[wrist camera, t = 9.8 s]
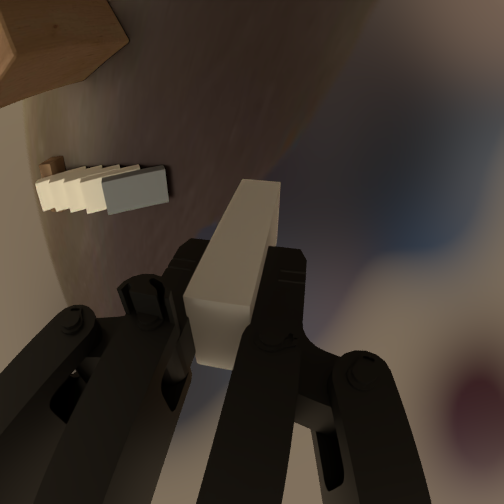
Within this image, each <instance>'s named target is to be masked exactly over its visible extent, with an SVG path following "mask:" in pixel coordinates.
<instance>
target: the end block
mask: <svg viewBox="0 0 504 504" xmlns="http://www.w3.org/2000/svg"><path fill="white" fill-rule="evenodd" d="M39 168H40V172H41V176H42V178H45V177H48V176H51V175H55V174H58V173H61V172H65V171H66V168H65V164H64V159H63V156H57V157H51V158H49V159H48V160H46V161H44V162H43V163H41V164H40V165H39ZM51 211H54V212H56V209H55V208H52V209H51ZM63 211H64V210H61V211H58V212H63Z"/></svg>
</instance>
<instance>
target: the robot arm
mask: <svg viewBox="0 0 504 504" xmlns="http://www.w3.org/2000/svg"><path fill="white" fill-rule="evenodd" d="M279 199H280V182H273V181H262V180H250V179H242V181H241V183H240V184H239V186H238V188H237V190H236V192H235V194H234V196H233V198H232V199H231V201H230V203H229V205H228V207H227V209H226V211H225V213H224V215H223V217H222V219H221V221H220V223H219V224H218V226H217V228H216V231H215V232H214V234H213V236H212V238H211V240H202V239H193V238H191V239H189V240H188V241H187V242H185V243H184V244H183V245H181V246H180V247H179V249H178V250H177V252H176V253H175V255H174V257H173V259H172V260H171V262H170V263H169V265H168V268H166V270H165V272H164V273H163V275H162V277H161V276H158V275H155V274H141V275H137V276H133V277H131V278H129V279H128V280H126V281H124V282H123V283H122V284H121V285H120V286H119V287H118V288H117V291H118V293H119V296H120V299H121V302H122V304H123V307H124V310H125V312H126V314H125V316H120V317H108V318H96V316H95V314H94V312H93V311H92V310H91V309H90V308H89V307H87V306H84V305H73V306H70V307H67V308H65V309H64V310H62V311H61V312H60V313H58V314H57V315H56V316H55V317H54V318H53V319H52V320H51V321H50V322H49V323H48V324H47V325H46V326H45V327H44V328H43V329H42V330H41V331H40V332H39V333H38V334H37V335H36V336H35V337H34V338H33V339H32V340H31V341H30V342H29V343H28V344H27V345H26V346H25V348H23V350H22V351H21V352H20V353H19V354H18V355H17V356H16V357H15V358H14V359H13V360H12V361H11V363H9V365H8V366H7V367H6V368H5V369H4V370H3V371H2V372H1V373H0V504H151V501H152V497H153V494H154V491H155V488H156V485H157V482H158V479H159V476H160V473H161V469H162V467H163V464H164V461H165V458H166V455H167V452H168V449H169V445H170V442H171V439H172V436H173V433H174V431H175V427H176V425H177V422H178V419H179V415H180V413H181V410H182V407H183V404H184V401H185V398H186V395H187V392H188V389H189V386H190V383H191V379H192V372H191V368H190V366H191V363H192V361H193V358H194V355H195V356H196V360H197V363H198V364H202V365H207V366H212V367H217V368H223V369H228V370H232V374H231V378H230V381H229V386H228V389H227V393H226V396H225V400H224V404H223V408H222V411H221V415H220V419H219V422H218V426H217V430H216V433H215V437H214V441H213V445H212V449H211V452H210V455H209V459H208V463H207V466H206V470H205V473H204V477H203V481H202V484H201V488H200V491H199V495H198V498H197V502H196V504H281V503H282V498H283V492H284V486H285V480H286V474H287V467H288V461H289V454H290V447H291V440H292V433H293V425H294V422H295V423H298V424H300V425H302V426H305V427H307V428H310V429H311V433H312V440H313V445H314V451H315V457H316V463H317V469H318V475H319V482H320V488H321V495H322V501H323V504H431V499H430V495H429V491H428V487H427V483H426V479H425V476H424V472H423V468H422V465H421V461H420V458H419V455H418V451H417V448H416V444H415V441H414V438H413V434H412V431H411V428H410V425H409V422H408V419H407V416H406V413H405V410H404V407H403V404H402V401H401V398H400V395H399V392H398V390H397V387H396V384H395V381H394V378H393V376H392V373H391V370H390V369H389V368H388V366H387V364H386V362H385V361H383V359H381V358H380V357H379V356H377V355H376V354H373V353H370V352H368V351H352V352H348V353H346V354H344V355H343V356H341V357H339V356H336V355H334V354H331V353H328V352H326V351H324V350H322V349H320V348H318V347H316V346H315V345H314V344H313V343H312V342H310V341H309V339H308V338H307V337H306V335H305V333H304V330H303V323H302V321H303V307H304V295H305V280H306V262H307V260H306V258H305V257H304V255H303V253H302V251H301V250H300V249H292V248H284V247H276V242H277V229H278V215H279ZM74 370H76V372H75V373H74V374H72V372H73V371H74Z"/></svg>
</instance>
